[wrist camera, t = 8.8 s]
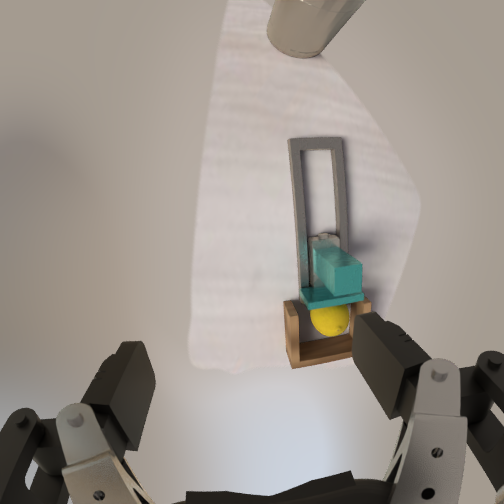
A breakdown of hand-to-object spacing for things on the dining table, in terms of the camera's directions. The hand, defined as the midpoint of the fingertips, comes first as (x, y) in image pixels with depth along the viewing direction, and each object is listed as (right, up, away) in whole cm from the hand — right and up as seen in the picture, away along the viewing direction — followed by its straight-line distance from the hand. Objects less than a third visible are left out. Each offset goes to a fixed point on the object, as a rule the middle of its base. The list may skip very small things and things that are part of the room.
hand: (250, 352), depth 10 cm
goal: (+11, -7, +34) cm, 37 cm away
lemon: (+11, -4, +33) cm, 35 cm away
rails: (+10, +7, +30) cm, 32 cm away
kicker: (+10, +3, +31) cm, 33 cm away
